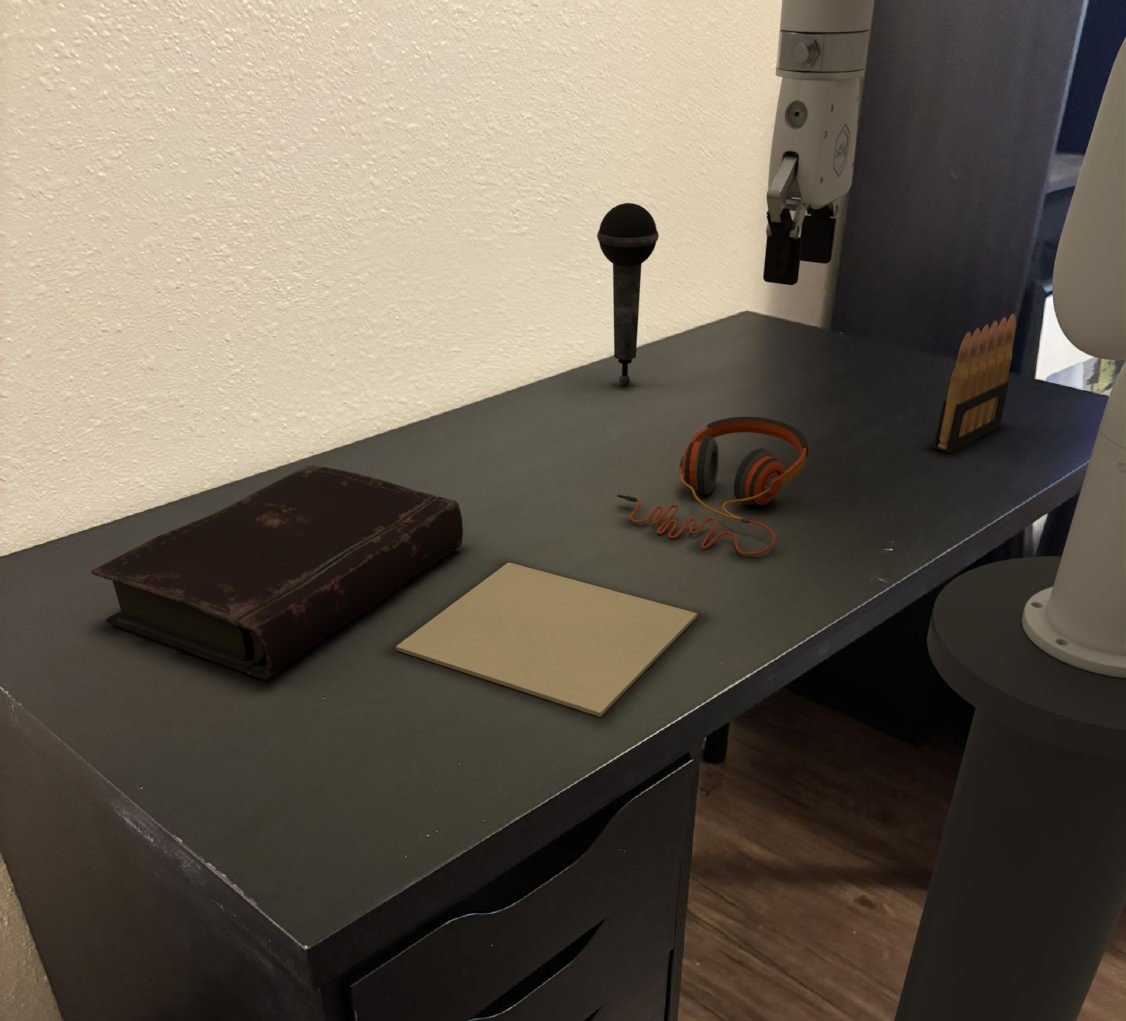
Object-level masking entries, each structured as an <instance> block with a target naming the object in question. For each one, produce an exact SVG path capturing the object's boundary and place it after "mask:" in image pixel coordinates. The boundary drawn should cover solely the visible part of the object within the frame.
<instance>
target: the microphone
mask: <svg viewBox="0 0 1126 1021" xmlns="http://www.w3.org/2000/svg"><path fill="white" fill-rule="evenodd" d="M596 238H597V241H598V244H599V248H600V250H601V252H602V254H603V256H604V257H605V258H606V259H607V260H608V261H609V263H611V264H612V289H613V290H612V295H613V298H612V300H613V303H612V304H613V356H614V357H613V358H614V359H617V360H618V361H617V362H618V363H619V364H621V375H620V376H619V378H618V382H619V384H620V386H622V387H626V386H628V385H629V384H630V382H631V378H630V376H629V375H628V374H629V364H632V363H633V359H634V360H635V358H637V350H638V348H637V347H638V331H639V330H638V327H639V313H640V299H641V298H640V296H641V280H642V264H643V263H644V262H646V261H647V260H648V258H650V257H651V255H652V254H653V252H654V250H655V247H656V244H657V241H659V231H658V229H657V224H656V221H655V219H654V217H653V216H652V214H651V213H650V212H649V211H648V210H647V209H646V208H645V207H643V206H641V205H640V204H637V203H633V202H624V203H620V204H618V205H616V206H613V207H612V208H611V209H610V210H609V211H607V212H606V214H605V215H604V217H603V218H602V220H601V221H600V225H599V229H598V231H597V234H596Z"/></svg>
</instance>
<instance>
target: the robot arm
mask: <svg viewBox="0 0 1126 1021" xmlns="http://www.w3.org/2000/svg"><path fill="white" fill-rule="evenodd" d="M874 4H875V0H781V10H780V22H779V31H778V40H777V42H778V43H777V52H776V53H777V55H776V62H775V63H776V64H775V76H776V77H779V78H781V83H780V89H779V94H778V99H777V105H776V112H775V119H774V124H773V131H772V132H773V133H772V138H771V139H772V140H771V148H770V156H769V164H768V165H769V166H768V177H767V178H768V179H767V191H766V195H765V196H766V205H767V211H766V213H765V214H766V219H767V225H766V228H765V234H766V235H765V236H766V241H765V242H766V243H765V253H764V263H763V276H762V278H763V281H764V282H766V283H770V284H777V285H785V286H794V285H796V284H797V283H798V282H799V276H800V275H799V274H800V266H801V262H808V263H817V264H822V265H823V264H824V265H827V264H829V263H831V261H832V256H833V248H834V242H835V241H834V240H835V234H836V233H835V232H836V227H837V226H836V225H837V220H838V219H837V218H836V217H837V216H838V213H839V207H840V206H839V199H840V198H842V197H843V196H845V195H846V194H847V193H848V192H849V191H850V190H851V187H852V183H853V175H854V165H855V155H856V154H855V153H856V145H857V144H856V143H857V133H858V123H859V122H858V121H859V107H860V106H859V104H860V78H862V77H865V70H866V64H867V58H868V57H867V56H868V49H869V41H870V36H871V27H872V26H871V25H872V17H873V13H874V12H873V11H874ZM1106 82H1107V84H1106V86H1105V89H1104V92H1103V95H1102V99H1101V102H1100V105H1099V108H1098V112H1097V115H1096V118H1095V121H1094V125H1093V128H1092V132H1091V135H1090V138H1089V141H1088V145H1087V148H1086V151H1085V154H1084V157H1083V161H1082V164H1081V167H1080V171H1079V173H1078V174H1079V175H1078V177H1077V181H1076V184H1075V188H1074V191H1073V194H1072V197H1071V201H1070V204H1069V207H1068V211H1067V214H1066V218H1065V221H1064V224H1063V226H1062V227H1063V228H1062V232H1061V234H1060V238H1059V242H1058V246H1057V250H1056V255H1055V259H1054V264H1053V273H1052V282H1051V283H1052V285H1051V286H1052V288H1051V289H1052V290H1051V291H1052V292H1051V293H1052V294H1051V295H1052V305H1053V310H1054V314H1055V318H1056V321H1057V323H1058V326H1059V329H1060V330H1061V332H1062V334H1063V335H1064V336H1065V338H1066V339H1067V340H1068V342H1069V343H1071V345H1072V346H1073V347H1075V348H1076V349H1077V350H1079V351H1080V352H1082V353H1084V354H1086V355H1088V356H1091V357H1093V358H1096V359H1099V360H1100V359H1101V360H1105V361H1107V360H1108V361H1124V363H1123V365H1122V366H1121V368H1120V371H1119V373H1118V375H1117V377H1116V379H1115V381H1114V383H1113V386H1112V388H1111V391H1110V393H1109V396H1108V399H1107V402H1106V404H1105V407H1104V411H1103V414H1102V418H1101V421H1100V424H1099V427H1098V431H1097V434H1096V437H1095V440H1094V444H1093V447H1092V452H1091V455H1090V457H1089V462H1088V465H1087V468H1086V472H1085V475H1084V479H1083V482H1082V485H1081V489H1080V492H1079V496H1078V500H1077V503H1076V507H1075V509H1074V514H1073V516H1072V520H1071V524H1070V527H1069V531H1068V534H1067V536H1066V541H1065V545H1064V548H1063V551H1062V555H1061V557H1062V558H1061V561H1060V565H1059V568H1058V572H1057V575H1056V579H1055V582H1054V585H1053V587H1051V588H1048V589H1045V590H1042V591H1040V592H1038V593H1037V594H1035V595H1033V596H1032V597H1031V598H1030V599H1029V600H1028V601H1027V603H1026V606H1025V608H1024V612H1023V616H1022V625H1023V629H1024V631H1025V632H1026V634H1027V636H1028V637H1029V638H1030V639H1031V640H1032V641H1033V642H1034V643H1035V644H1036V645H1037V646H1038V647H1039V648H1040V649H1042V650H1043V651H1045V652H1046V653H1047V654H1049V655H1051V656H1052V657H1054V658H1056V659H1058V660H1060V661H1062V662H1064V663H1067V664H1069V665H1071V666H1074V667H1076V668H1079V669H1083V670H1086V671H1089V672H1092V673H1096V674H1101V675H1106V676H1111V677H1118V678H1126V36H1125V38H1124V40H1123V41H1122V44H1121V46H1120V48H1119V50H1118V51H1117V55H1116V57H1115V59H1114V62H1113V64H1112V68H1111V71H1110V74H1109V76H1108V80H1107V81H1106ZM792 211H793V212H794V215H793V218H792V214H791V212H792ZM799 235H800V236H799Z"/></svg>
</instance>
